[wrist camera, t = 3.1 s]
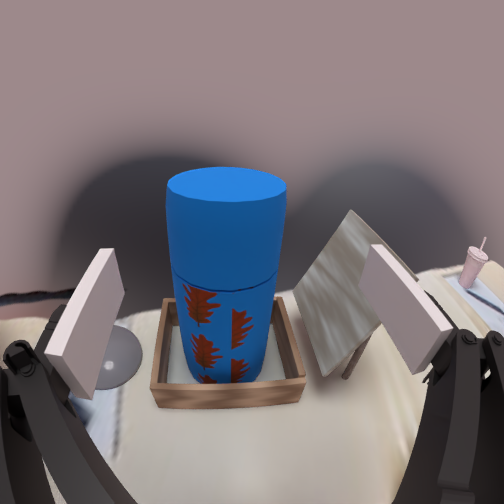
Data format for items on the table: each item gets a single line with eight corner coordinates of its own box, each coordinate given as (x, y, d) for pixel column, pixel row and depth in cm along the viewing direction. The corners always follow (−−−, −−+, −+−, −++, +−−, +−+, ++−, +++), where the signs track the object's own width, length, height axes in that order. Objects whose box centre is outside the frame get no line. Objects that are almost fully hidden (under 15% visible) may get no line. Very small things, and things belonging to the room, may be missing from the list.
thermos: (214, 323, 43) (213, 162, 30) (275, 350, 39) (305, 179, 26) (171, 367, 34) (139, 187, 21) (238, 406, 30) (250, 215, 17)
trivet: (61, 383, 28) (59, 380, 28) (82, 325, 38) (81, 322, 38) (136, 394, 30) (135, 392, 29) (147, 329, 40) (146, 326, 40)
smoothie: (476, 288, 53) (497, 242, 46) (467, 294, 51) (489, 245, 44) (461, 275, 58) (480, 230, 51) (451, 279, 56) (471, 231, 49)
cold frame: (158, 407, 29) (113, 286, 19) (168, 321, 42) (151, 206, 32) (357, 391, 32) (420, 277, 22) (325, 315, 45) (354, 209, 35)
